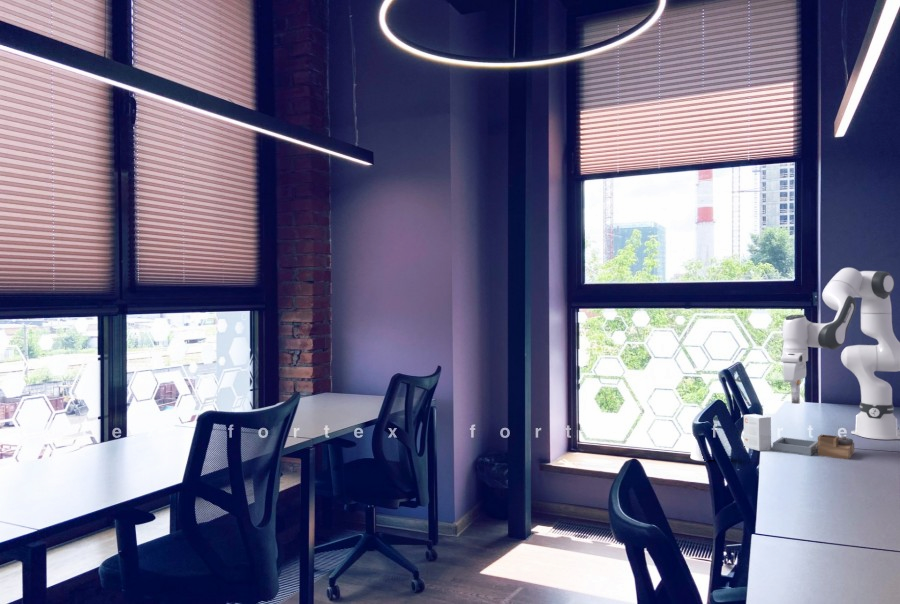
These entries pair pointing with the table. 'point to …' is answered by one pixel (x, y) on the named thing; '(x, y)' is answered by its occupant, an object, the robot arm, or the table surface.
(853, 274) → the robot arm
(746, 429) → the small box
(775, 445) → the tray
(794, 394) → the lock pin
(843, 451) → the wooden holder block
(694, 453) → the mug
